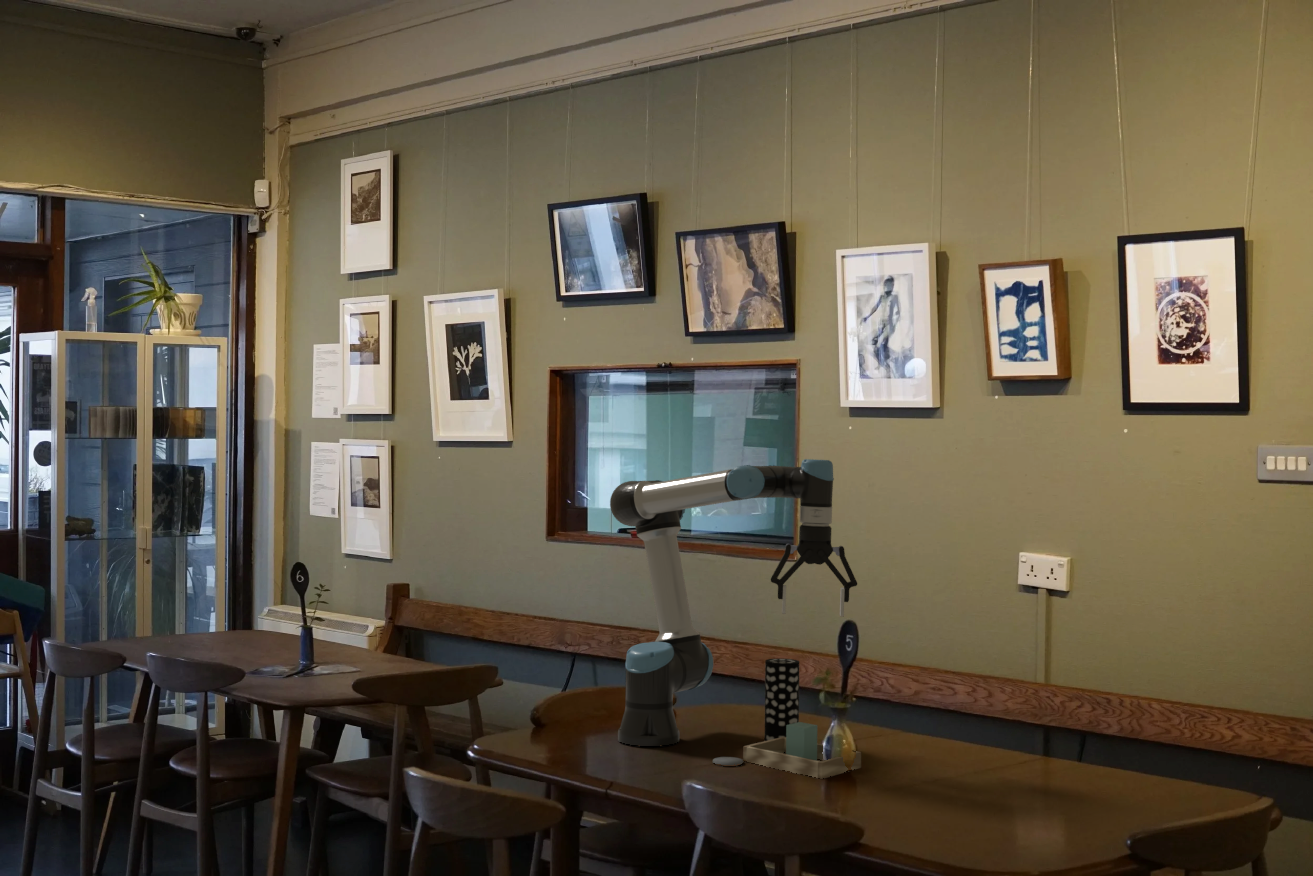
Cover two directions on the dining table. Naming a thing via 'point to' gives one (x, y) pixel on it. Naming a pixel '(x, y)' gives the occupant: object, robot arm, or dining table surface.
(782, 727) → the white-spotted black cylinder
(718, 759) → the coaster
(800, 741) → the block
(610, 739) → the dining table surface
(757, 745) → the tray
